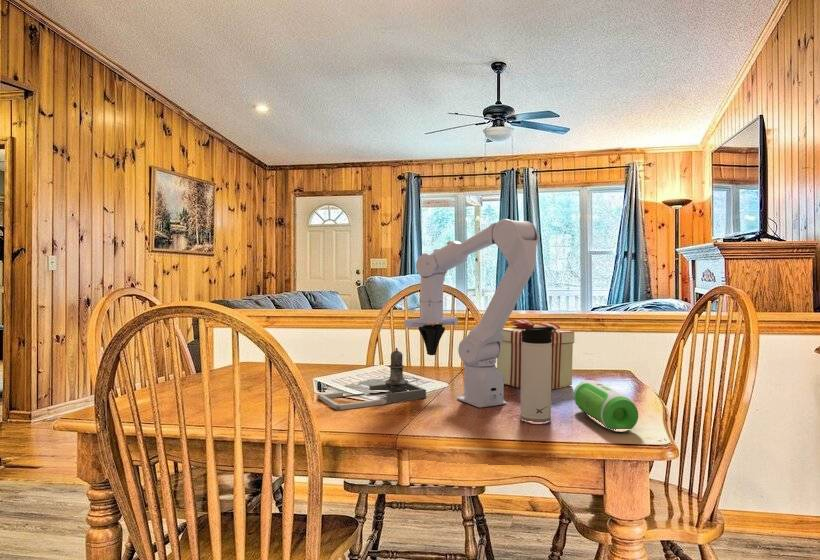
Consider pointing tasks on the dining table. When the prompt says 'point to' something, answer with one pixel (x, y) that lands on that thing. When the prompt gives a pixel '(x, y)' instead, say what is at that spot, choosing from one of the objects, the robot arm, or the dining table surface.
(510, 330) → the gift box
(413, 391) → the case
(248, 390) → the dining table surface
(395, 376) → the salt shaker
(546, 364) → the travel mug
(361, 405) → the gray square frame
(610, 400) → the speaker
